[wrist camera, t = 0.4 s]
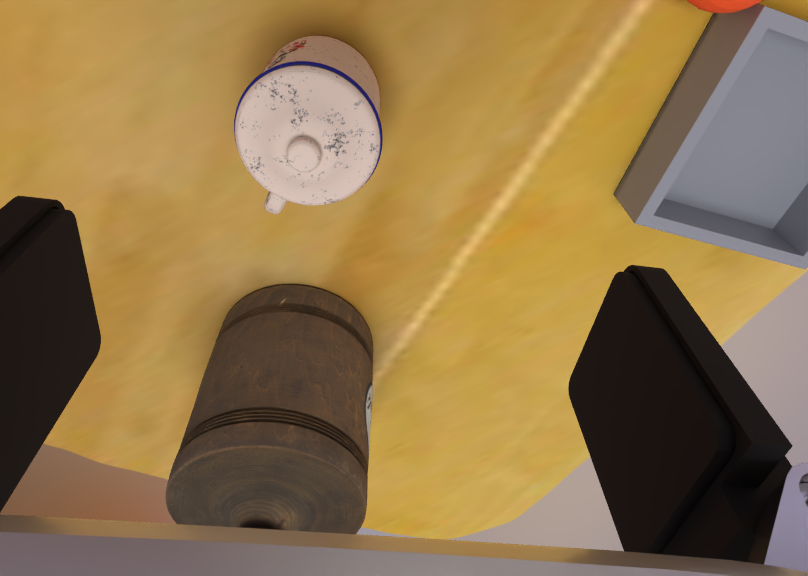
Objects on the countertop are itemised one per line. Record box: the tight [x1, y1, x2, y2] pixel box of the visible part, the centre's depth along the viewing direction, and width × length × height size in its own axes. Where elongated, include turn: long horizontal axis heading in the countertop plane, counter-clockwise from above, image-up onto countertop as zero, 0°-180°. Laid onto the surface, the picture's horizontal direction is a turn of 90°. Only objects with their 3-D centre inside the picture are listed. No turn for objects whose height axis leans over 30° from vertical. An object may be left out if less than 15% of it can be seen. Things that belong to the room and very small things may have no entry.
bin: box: [614, 4, 808, 269], centre depth 42 cm, size 16×16×5 cm
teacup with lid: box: [234, 36, 382, 214], centre depth 38 cm, size 12×9×12 cm
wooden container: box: [166, 285, 373, 534], centre depth 47 cm, size 15×15×22 cm
